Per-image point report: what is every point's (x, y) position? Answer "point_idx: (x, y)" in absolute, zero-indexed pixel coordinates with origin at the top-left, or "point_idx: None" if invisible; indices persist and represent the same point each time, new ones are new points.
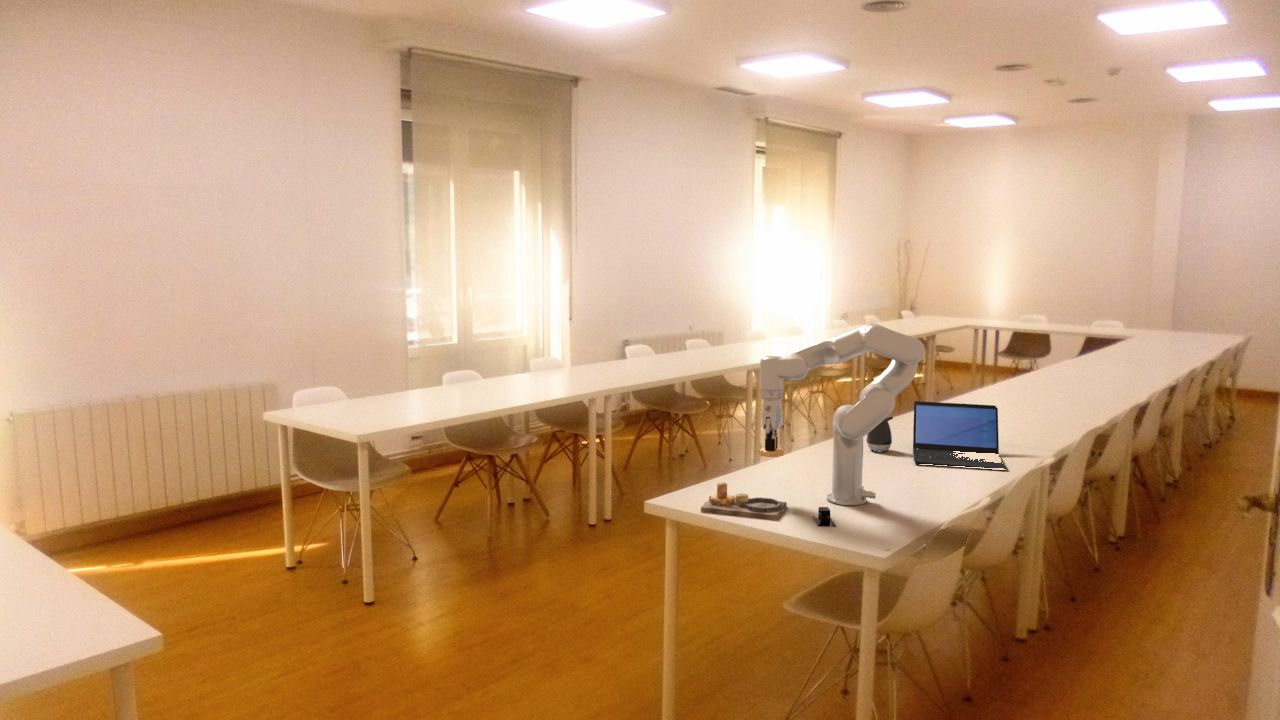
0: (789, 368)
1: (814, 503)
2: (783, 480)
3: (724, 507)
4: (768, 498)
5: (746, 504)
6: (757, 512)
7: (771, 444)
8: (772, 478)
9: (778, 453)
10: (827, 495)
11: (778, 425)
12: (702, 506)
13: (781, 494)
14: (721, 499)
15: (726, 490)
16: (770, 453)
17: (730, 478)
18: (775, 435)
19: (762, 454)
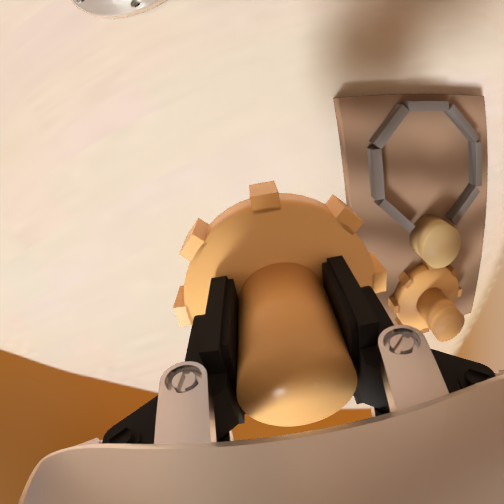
0: None
1: (230, 22)
2: (30, 248)
3: (465, 263)
4: (376, 164)
5: (465, 209)
6: (482, 159)
7: (381, 307)
8: (37, 284)
9: (347, 207)
10: (141, 7)
11: (487, 451)
12: (466, 312)
13: (178, 178)
14: (449, 292)
15: (447, 300)
16: (371, 264)
17: (121, 376)
18: (208, 379)
19: None
